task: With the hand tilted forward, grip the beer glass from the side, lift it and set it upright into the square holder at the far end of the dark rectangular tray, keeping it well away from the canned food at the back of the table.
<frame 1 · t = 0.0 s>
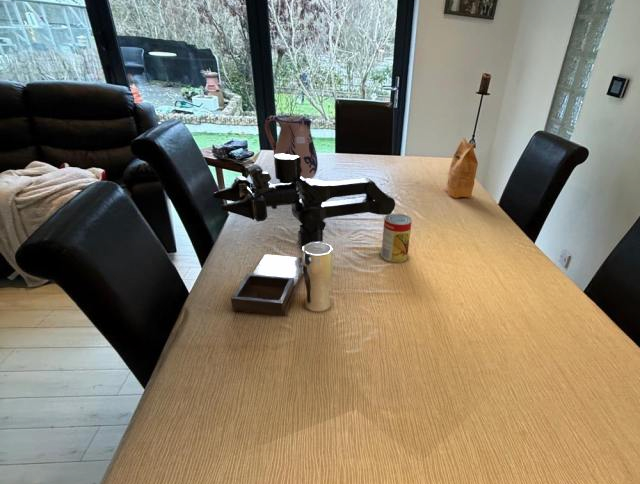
hand: (217, 201, 106), 17 cm above the table, tool horizontal, fingers open, 9 cm apart
dark rectangular tray: (285, 262, 116), on the table
coffee package: (457, 194, 179), on the table
ceramic pitcher: (292, 181, 176), on the table
canned food: (394, 256, 125), on the table
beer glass: (317, 305, 100), on the table
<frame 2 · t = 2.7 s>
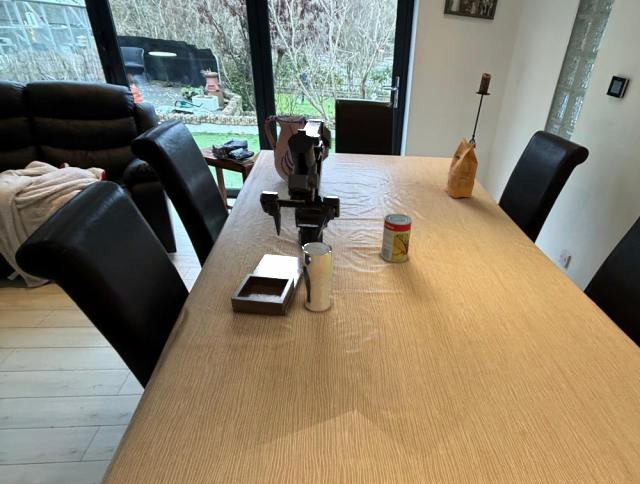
hand: (297, 236, 98), 14 cm above the table, tool tilted 50°, fingers open, 9 cm apart
nothing on the table moved.
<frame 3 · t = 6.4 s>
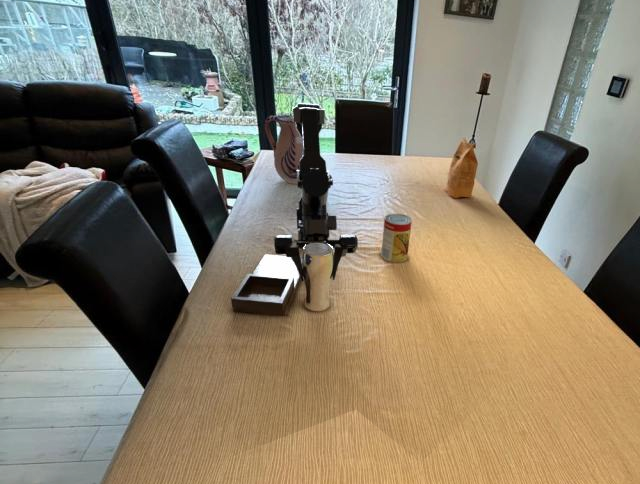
hand: (318, 280, 95), 8 cm above the table, tool tilted 45°, fingers closed on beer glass, 7 cm apart
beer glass: (317, 304, 100), on the table, touching gripper
everything else where it was.
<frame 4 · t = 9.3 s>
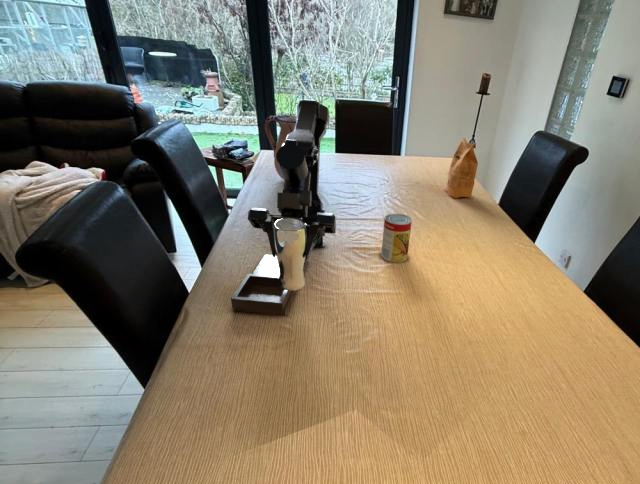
hand: (290, 257, 91), 13 cm above the table, tool tilted 45°, fingers closed on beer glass, 7 cm apart
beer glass: (291, 284, 96), point 6 cm above the table, touching gripper
everything else where it was.
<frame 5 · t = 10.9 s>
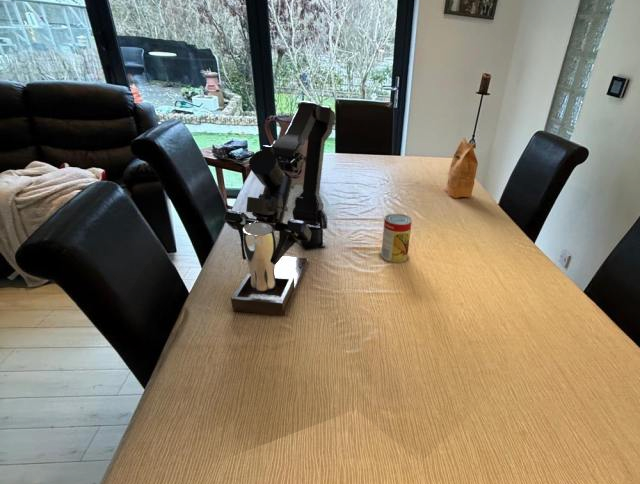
hand: (258, 261, 92), 11 cm above the table, tool tilted 45°, fingers closed on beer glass, 7 cm apart
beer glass: (263, 287, 97), point 4 cm above the table, touching gripper
everything else where it was.
when the fingers open (9 cm above the table, at t = 12.2 s): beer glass stays where it is, resting on dark rectangular tray.
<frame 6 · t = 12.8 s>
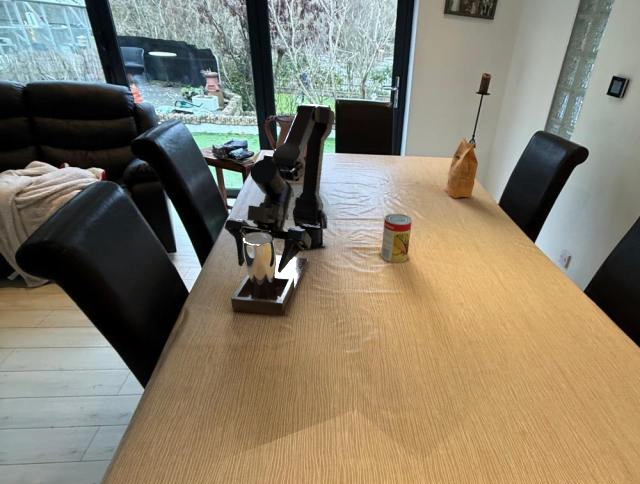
hand: (259, 269, 93), 10 cm above the table, tool tilted 45°, fingers open, 9 cm apart
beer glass: (264, 296, 99), point 1 cm above the table, touching dark rectangular tray
everything else where it was.
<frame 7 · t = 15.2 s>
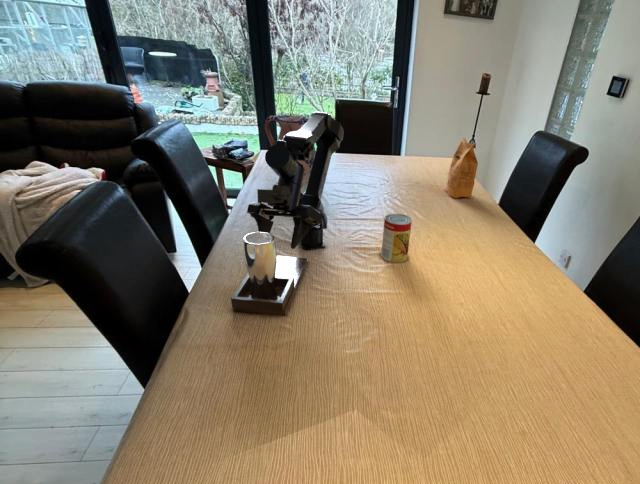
hand: (277, 247, 101), 10 cm above the table, tool tilted 35°, fingers open, 9 cm apart
nothing on the table moved.
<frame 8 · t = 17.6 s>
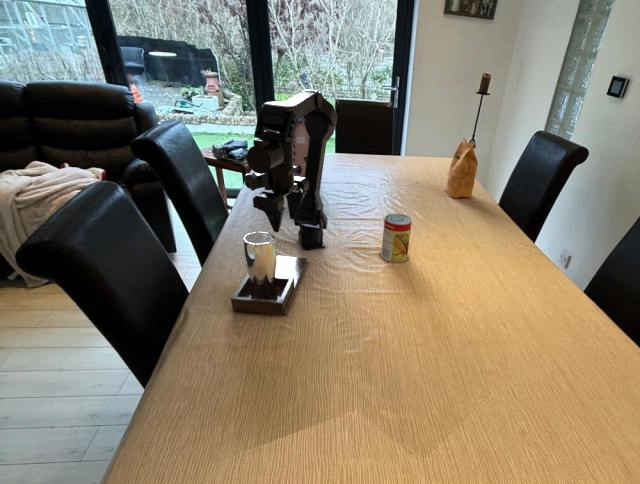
hand: (284, 225, 106), 13 cm above the table, tool pointing down, fingers open, 9 cm apart
nothing on the table moved.
at the end: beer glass 0.4 cm from the target spot on the dark rectangular tray, point 1.3 cm above the dark rectangular tray's base; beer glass tilted 0°; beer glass touching dark rectangular tray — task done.
